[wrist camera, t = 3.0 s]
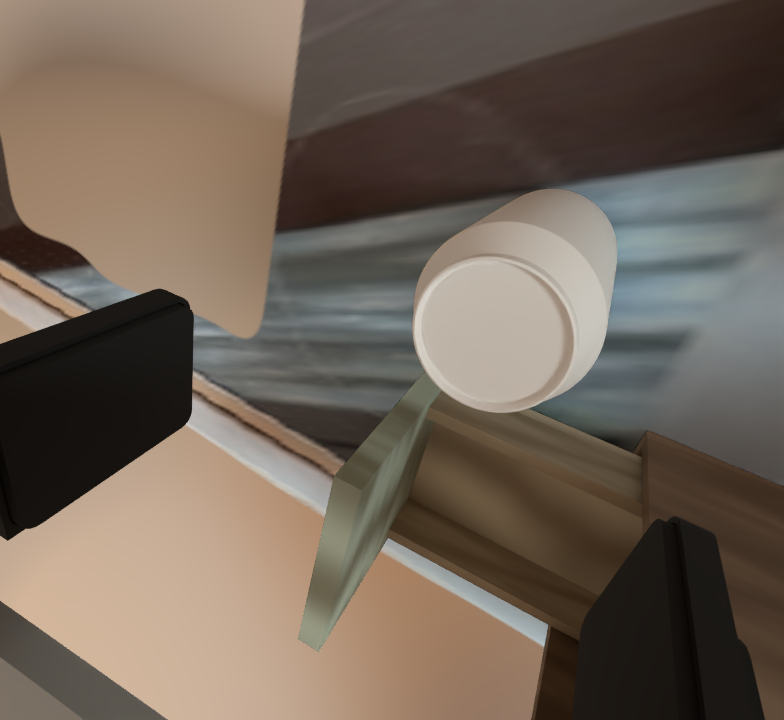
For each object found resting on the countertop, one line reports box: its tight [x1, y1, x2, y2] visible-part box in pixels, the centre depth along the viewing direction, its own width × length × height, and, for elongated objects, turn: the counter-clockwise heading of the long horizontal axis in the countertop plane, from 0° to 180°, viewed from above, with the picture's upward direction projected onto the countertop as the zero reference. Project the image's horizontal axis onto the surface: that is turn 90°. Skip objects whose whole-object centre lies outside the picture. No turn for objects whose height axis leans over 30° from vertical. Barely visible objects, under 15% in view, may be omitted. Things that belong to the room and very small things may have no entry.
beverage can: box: [412, 189, 618, 413], centre depth 19 cm, size 6×6×12 cm
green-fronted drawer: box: [298, 371, 642, 652], centre depth 24 cm, size 11×20×12 cm, turn 77°
